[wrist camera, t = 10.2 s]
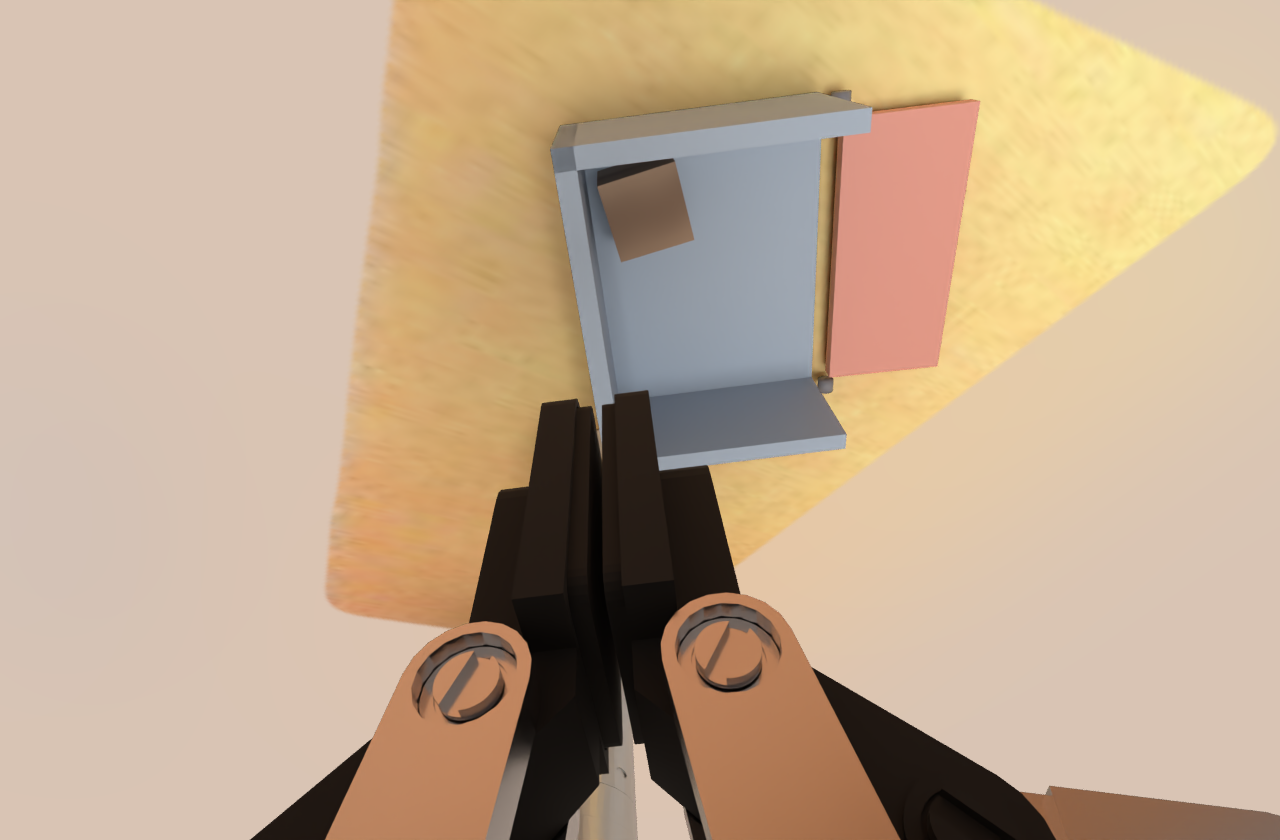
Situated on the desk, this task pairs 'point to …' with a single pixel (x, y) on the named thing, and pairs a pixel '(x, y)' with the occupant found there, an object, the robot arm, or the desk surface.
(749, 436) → the tray
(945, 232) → the tailgate
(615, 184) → the cargo block
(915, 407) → the desk surface
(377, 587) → the desk surface
